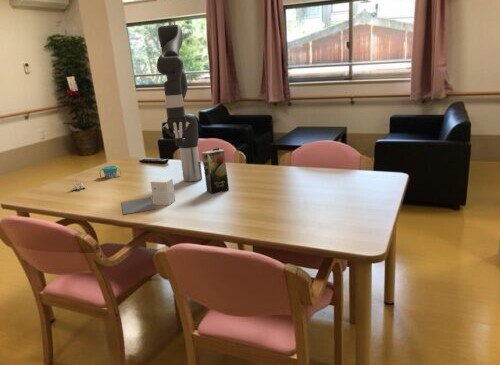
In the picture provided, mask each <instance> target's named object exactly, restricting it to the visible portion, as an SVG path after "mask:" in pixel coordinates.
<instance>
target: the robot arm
mask: <svg viewBox="0 0 500 365" xmlns="http://www.w3.org/2000/svg"><path fill="white" fill-rule="evenodd" d="M157 35H158V40H159V44H160V49H161V52H162V53H161V54H160V56H159V57H158V58H157V60H156V68H157V71H158V72H159V74H161V75H162V76H165V75H166V81H165V82H164V83H163V88H164V97H165V101H164V102H165V110H166V117H167V118H166V123H165V124H164V125H163V126H162V127H161V128H162V129H163V130H164V131H165V132H166V134H168V135H169V136H170V137H172V138H174V139H175V146H177V147H179V154H180V162H181V168H182V177H183V181H184V182H196V181H199V180H203V173H202V165H201V160H200V153H199V144H198V142H199V124H198V119H197V118H196V116H194V115H192V114H185V113H186V112H185V103H184V101H185V99H186V98H185V97H186V95H187V92H188V81H187V76H186V72H185V71H184V70H183V69H184V62H183V61H184V60H183V59H182V57H180V50H181V47H182V46H183V44H184V43H183V42H184V34H183V30H182V28H181V26H180V24H170V25H169V24H168V25H161V26H159V27H158V28H157ZM169 128H170V129H171V130H172V131H173V133H172V131H170V130H169ZM183 137H184V139H183Z"/></svg>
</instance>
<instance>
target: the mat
mask: <svg viewBox="0 0 500 365" xmlns="http://www.w3.org/2000/svg"><path fill="white" fill-rule="evenodd" d="M121 208H122V215H124V216H125V215H129V214H131V215H132V214H137V213H143V212H148V211H149V212H150V211H154V210H156V208H155V204H154V201H153V199H152V197H151V196H150V197H144V198H143V197H142V198H139V199H132V200H126V201H121Z"/></svg>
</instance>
